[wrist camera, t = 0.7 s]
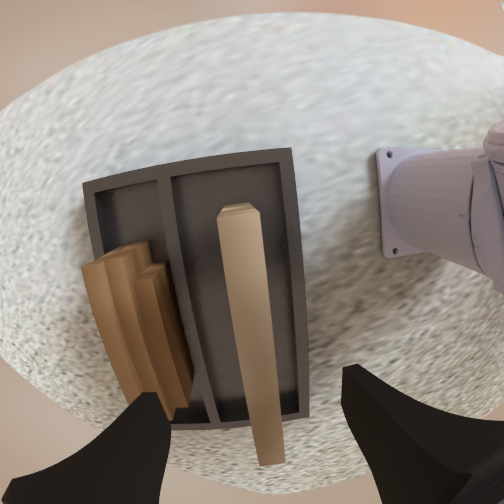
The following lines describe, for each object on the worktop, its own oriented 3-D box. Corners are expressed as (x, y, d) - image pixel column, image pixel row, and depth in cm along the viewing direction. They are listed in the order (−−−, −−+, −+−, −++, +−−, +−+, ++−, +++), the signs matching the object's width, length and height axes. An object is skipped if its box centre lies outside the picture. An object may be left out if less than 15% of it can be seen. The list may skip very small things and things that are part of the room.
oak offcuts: (164, 238, 18) (137, 258, 12) (196, 378, 20) (187, 427, 15) (119, 245, 18) (80, 265, 12) (156, 379, 20) (139, 426, 15)
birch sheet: (248, 202, 18) (259, 212, 10) (270, 384, 21) (285, 462, 13) (224, 205, 18) (216, 217, 10) (251, 387, 21) (259, 466, 13)
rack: (284, 152, 18) (291, 147, 16) (304, 400, 22) (309, 416, 20) (97, 183, 17) (82, 183, 15) (159, 413, 22) (154, 429, 20)
